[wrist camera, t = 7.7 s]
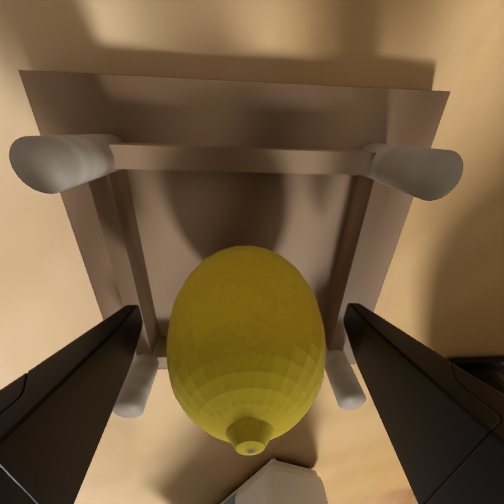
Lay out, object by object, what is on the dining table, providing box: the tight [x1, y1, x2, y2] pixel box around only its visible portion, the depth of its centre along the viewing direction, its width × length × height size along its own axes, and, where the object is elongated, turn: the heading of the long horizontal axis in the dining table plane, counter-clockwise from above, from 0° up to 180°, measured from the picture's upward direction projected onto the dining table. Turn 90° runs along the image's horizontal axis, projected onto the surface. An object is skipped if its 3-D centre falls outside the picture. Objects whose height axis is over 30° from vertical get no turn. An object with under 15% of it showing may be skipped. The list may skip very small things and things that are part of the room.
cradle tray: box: [9, 70, 463, 418], centre depth 11 cm, size 16×16×5 cm
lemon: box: [166, 246, 326, 455], centre depth 9 cm, size 6×6×8 cm
